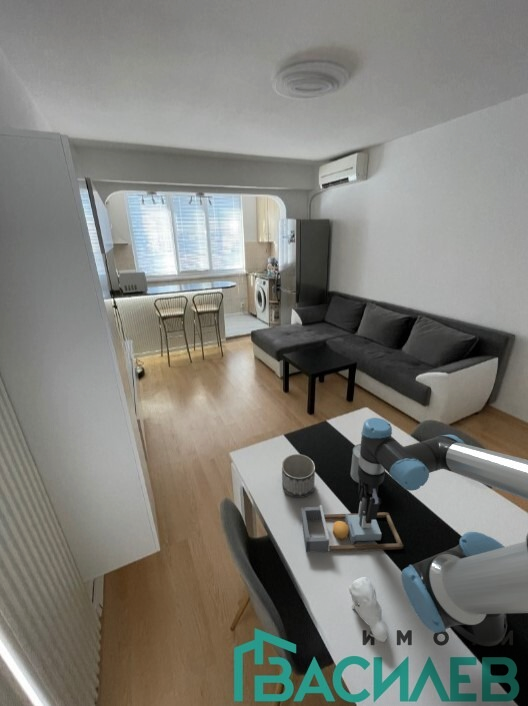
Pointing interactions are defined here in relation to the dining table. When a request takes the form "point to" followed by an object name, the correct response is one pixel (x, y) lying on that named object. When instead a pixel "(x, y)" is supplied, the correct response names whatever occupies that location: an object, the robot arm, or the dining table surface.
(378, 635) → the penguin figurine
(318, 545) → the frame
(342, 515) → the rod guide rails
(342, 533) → the orange rounded piece
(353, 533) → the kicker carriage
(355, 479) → the grey cylinder
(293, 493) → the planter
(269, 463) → the dining table surface
